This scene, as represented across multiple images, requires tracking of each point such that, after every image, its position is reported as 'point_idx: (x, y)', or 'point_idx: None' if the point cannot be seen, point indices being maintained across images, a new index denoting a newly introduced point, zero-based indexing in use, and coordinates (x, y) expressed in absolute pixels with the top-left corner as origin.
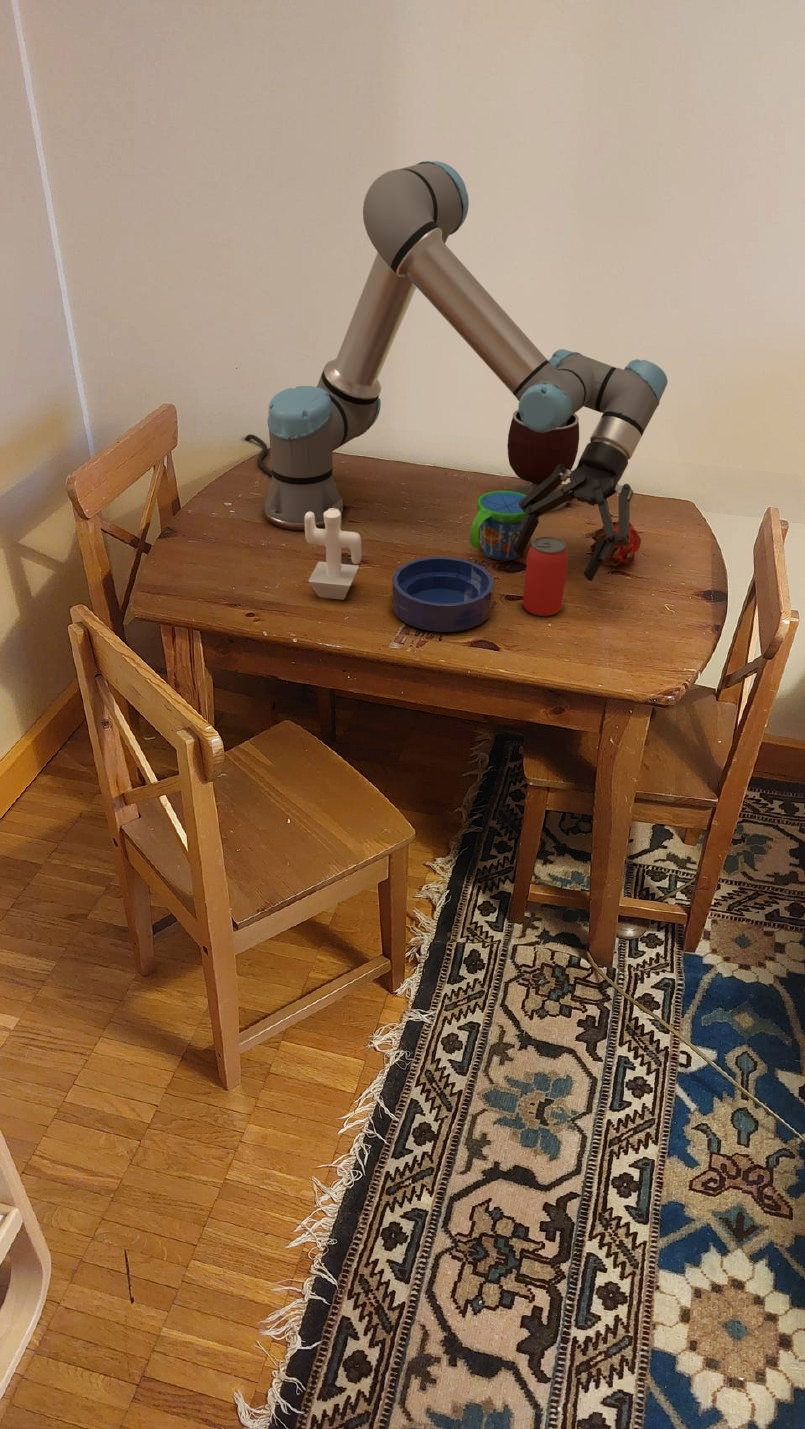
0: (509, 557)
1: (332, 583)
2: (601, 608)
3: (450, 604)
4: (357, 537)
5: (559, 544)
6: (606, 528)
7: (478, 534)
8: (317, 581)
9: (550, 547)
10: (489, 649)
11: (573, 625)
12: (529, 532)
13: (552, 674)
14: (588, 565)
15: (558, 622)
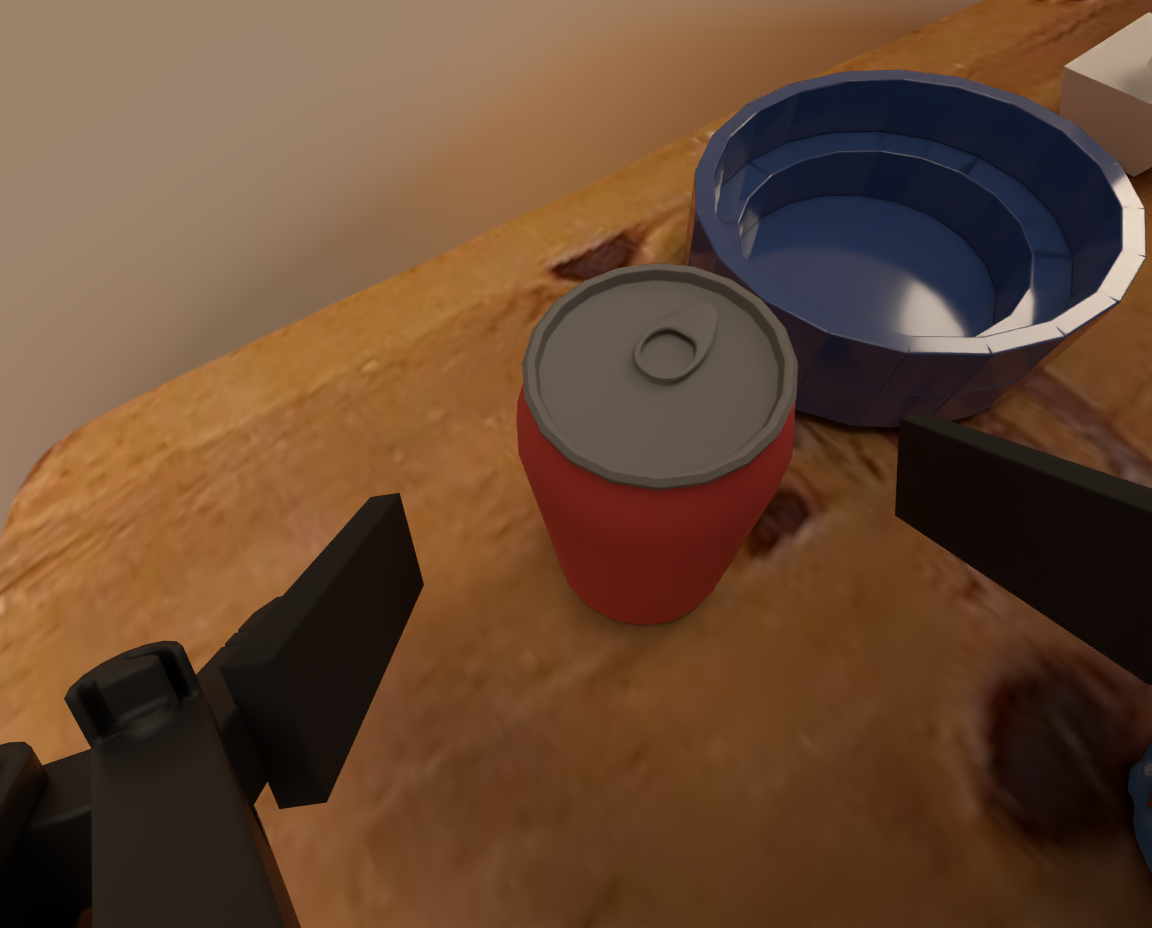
0: (1142, 783)
1: (1103, 43)
2: (453, 755)
3: (729, 125)
4: None
5: (616, 439)
6: (192, 781)
7: None
8: (1137, 26)
9: (625, 355)
10: (574, 257)
11: (467, 538)
12: (1021, 534)
13: (366, 296)
14: (373, 520)
15: (522, 512)
